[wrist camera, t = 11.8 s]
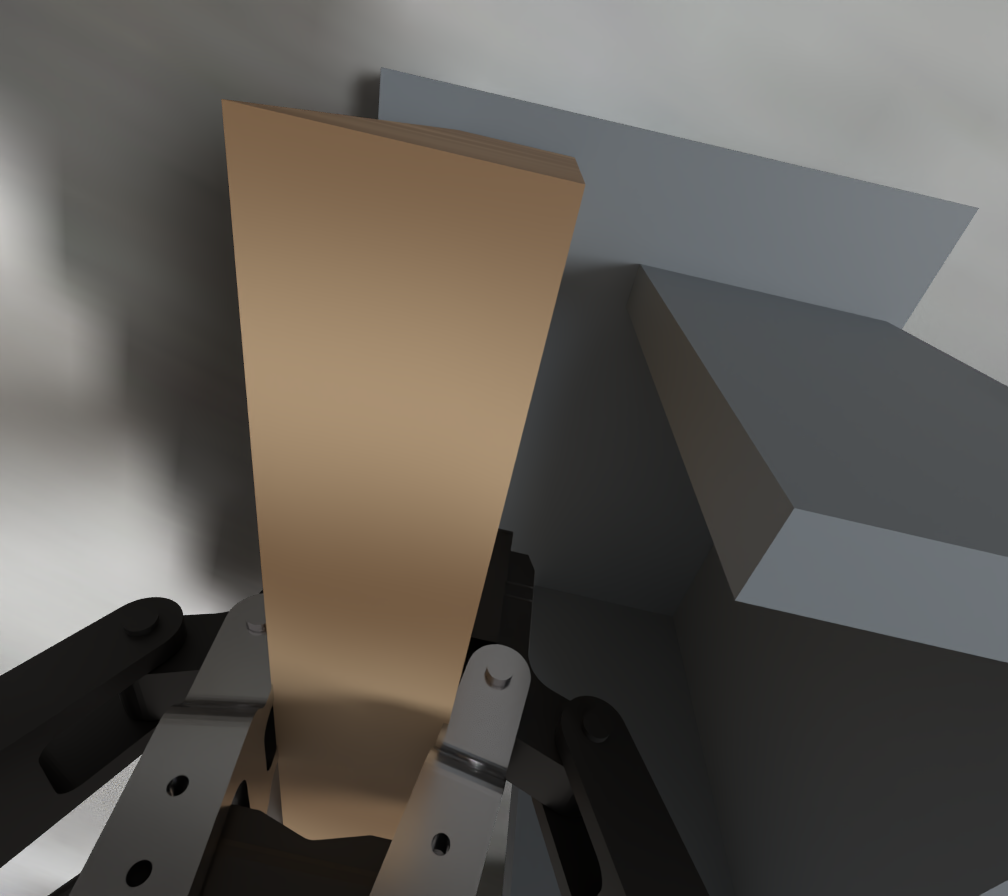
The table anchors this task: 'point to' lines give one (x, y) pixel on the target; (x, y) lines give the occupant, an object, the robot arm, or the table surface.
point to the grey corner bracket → (762, 513)
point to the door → (382, 422)
